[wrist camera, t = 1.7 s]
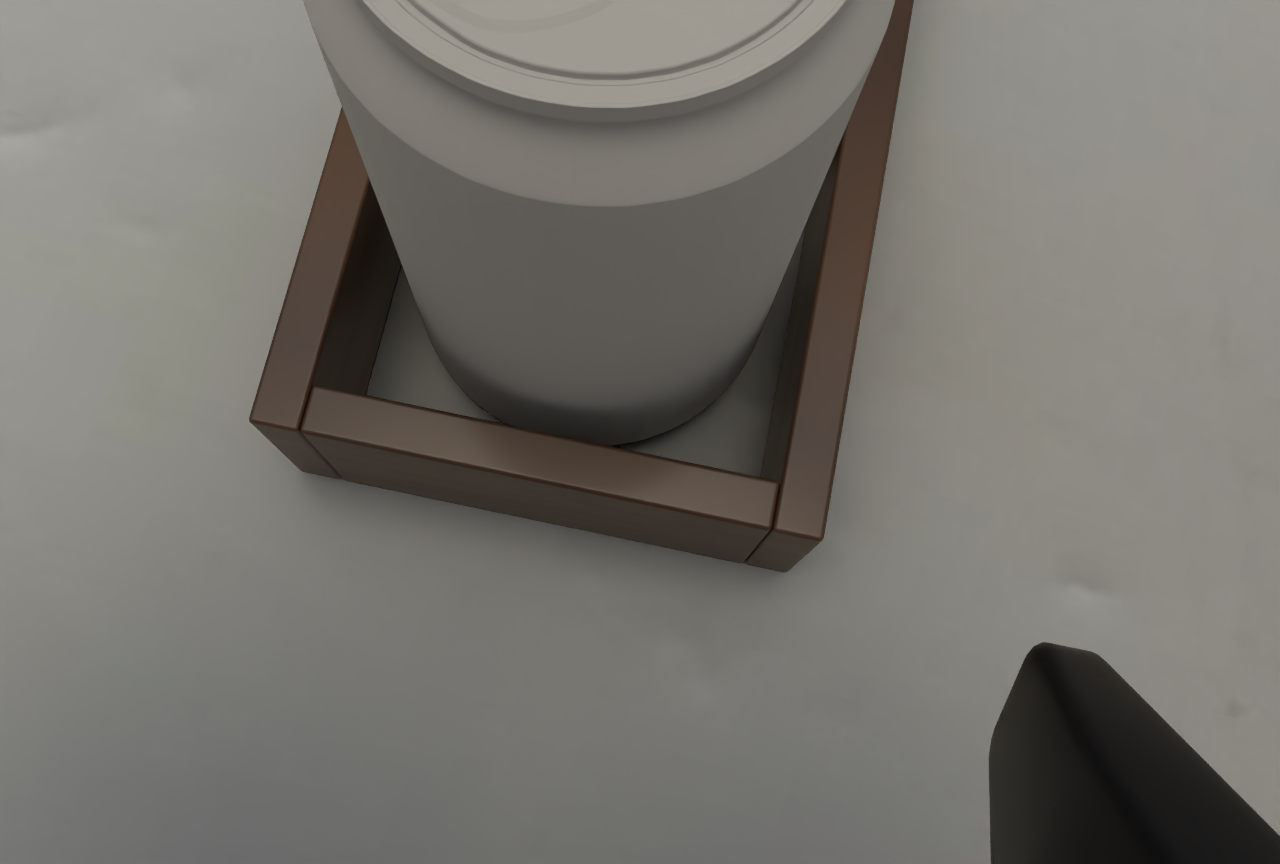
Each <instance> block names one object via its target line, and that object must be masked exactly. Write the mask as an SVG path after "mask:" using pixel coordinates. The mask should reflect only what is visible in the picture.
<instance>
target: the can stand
mask: <svg viewBox="0 0 1280 864" xmlns="http://www.w3.org/2000/svg"><path fill="white" fill-rule="evenodd" d="M913 2H914V0H895V3H894V7H893V10H892V14H891V17H890V21H889V24H888V27H887V30H886V32H885V35H884V37H883V40H882V42H881V45H880V47H879V50H878V52H877V54H876V57H875V59H874V62H873V64H872V66H871V69H870V71H869V74H868V76H867V78H866V81H865V83H864V86H863V88H862V90H861V93H860V95H859V98H858V100H857V102H856V105H855V107H854V109H853V112H852V114H851V117H850V119H849V121H848V124H847V126H846V129H845V131H844V133H843V136H842V138H841V141H840V143H839V145H838V148H837V150H836V153H835V155H834V157H833V160H832V162H831V164H830V167H829V169H828V172H827V174H826V176H825V179H824V181H823V184H822V186H821V188H820V191H819V193H818V196H817V198H816V200H815V203H814V205H813V208H812V210H811V212H810V215H809V217H808V221H807V227H806V232H805V238H804V243H803V248H802V254H801V259H800V265H799V270H798V276H797V281H796V287H795V292H794V298H793V303H792V308H791V314H790V319H789V325H788V330H787V336H786V341H785V347H784V352H783V357H782V363H781V368H780V374H779V379H778V385H777V390H776V396H775V401H774V406H773V412H772V417H771V423H770V428H769V434H768V439H767V445H766V450H765V456H764V461H763V466H762V472H761V477H755V476H751V475H746V474H741V473H736V472H731V471H727V470H722V469H717V468H712V467H707V466H703V465H698V464H693V463H688V462H684V461H679V460H674V459H669V458H664V457H660V456H655V455H650V454H645V453H640V452H636V451H631V450H626V449H621V448H616V447H612V446H607V445H602V444H597V443H592V442H588V441H583V440H578V439H573V438H568V437H564V436H559V435H554V434H549V433H544V432H540V431H535V430H530V429H525V428H520V427H516V426H511V425H506V424H501V423H496V422H492V421H487V420H482V419H477V418H472V417H468V416H463V415H458V414H453V413H448V412H444V411H439V410H434V409H429V408H424V407H420V406H415V405H410V404H405V403H401V402H396V401H391V400H386V399H381V398H377V397H372V396H367V395H365V393H366V389H367V386H368V382H369V378H370V375H371V371H372V368H373V364H374V360H375V357H376V353H377V349H378V346H379V342H380V338H381V335H382V331H383V327H384V324H385V320H386V316H387V313H388V309H389V305H390V302H391V298H392V295H393V291H394V287H395V284H396V280H397V276H398V273H399V269H400V265H401V261H400V258H399V256H398V253H397V250H396V248H395V245H394V242H393V240H392V237H391V235H390V232H389V229H388V227H387V224H386V221H385V219H384V216H383V213H382V211H381V208H380V205H379V203H378V200H377V197H376V195H375V192H374V189H373V187H372V184H371V181H370V179H369V176H368V173H367V171H366V168H365V165H364V163H363V160H362V158H361V155H360V152H359V150H358V147H357V144H356V142H355V139H354V136H353V134H352V131H351V128H350V126H349V123H348V120H347V118H346V115H345V112H344V110H343V107H342V108H341V112H340V115H339V118H338V122H337V125H336V128H335V132H334V135H333V138H332V142H331V145H330V149H329V152H328V155H327V159H326V162H325V165H324V169H323V172H322V175H321V179H320V182H319V185H318V189H317V192H316V195H315V199H314V202H313V206H312V209H311V212H310V216H309V219H308V222H307V226H306V229H305V232H304V236H303V239H302V242H301V246H300V249H299V253H298V256H297V259H296V263H295V266H294V269H293V273H292V276H291V279H290V283H289V286H288V289H287V293H286V296H285V299H284V303H283V306H282V310H281V313H280V316H279V320H278V323H277V326H276V330H275V333H274V336H273V340H272V343H271V346H270V350H269V353H268V356H267V360H266V363H265V367H264V370H263V373H262V377H261V380H260V383H259V387H258V390H257V393H256V397H255V400H254V403H253V407H252V410H251V414H250V417H249V421H250V422H251V423H252V424H253V425H254V426H255V427H256V428H257V429H258V430H259V431H260V432H261V433H262V434H263V435H264V436H265V437H266V438H267V439H268V440H270V441H271V442H272V443H273V444H274V445H275V446H276V447H277V448H278V449H279V450H280V451H281V452H282V453H283V454H284V455H285V456H286V457H287V458H288V459H289V460H290V461H291V462H293V463H294V464H295V465H296V466H297V467H298V468H299V469H300V470H301V471H304V472H309V473H313V474H318V475H323V476H328V477H332V478H337V479H339V478H343V479H345V480H347V481H352V482H357V483H361V484H366V485H371V486H376V487H380V488H385V489H390V490H395V491H399V492H404V493H409V494H414V495H419V496H423V497H428V498H433V499H438V500H442V501H447V502H452V503H457V504H462V505H466V506H471V507H476V508H481V509H485V510H490V511H495V512H500V513H505V514H509V515H514V516H519V517H524V518H528V519H533V520H538V521H543V522H548V523H552V524H557V525H562V526H567V527H571V528H576V529H581V530H586V531H590V532H595V533H600V534H605V535H610V536H614V537H619V538H624V539H629V540H633V541H638V542H643V543H648V544H653V545H657V546H662V547H667V548H672V549H676V550H681V551H686V552H691V553H696V554H700V555H705V556H710V557H715V558H719V559H724V560H729V561H734V562H739V563H743V562H744V561H745V560H746V563H747V564H749V565H753V566H758V567H762V568H767V569H772V570H777V571H781V572H787V571H789V570H790V569H791V568H792V567H793V566H794V565H795V564H796V563H797V562H799V561H800V560H801V559H802V558H803V557H804V556H805V555H806V554H808V553H809V552H810V551H811V550H812V549H813V548H814V547H815V546H817V545H818V544H819V543H820V542H821V541H822V540H823V538H824V533H825V527H826V521H827V515H828V509H829V503H830V497H831V491H832V485H833V479H834V473H835V467H836V461H837V455H838V450H839V444H840V438H841V432H842V426H843V420H844V414H845V408H846V402H847V396H848V390H849V384H850V378H851V372H852V366H853V360H854V354H855V348H856V342H857V336H858V330H859V324H860V318H861V312H862V306H863V300H864V294H865V288H866V283H867V277H868V271H869V265H870V259H871V253H872V247H873V241H874V235H875V229H876V223H877V217H878V211H879V205H880V199H881V193H882V187H883V181H884V175H885V169H886V163H887V157H888V151H889V145H890V139H891V133H892V127H893V121H894V115H895V110H896V104H897V98H898V92H899V86H900V80H901V74H902V68H903V62H904V56H905V50H906V44H907V38H908V32H909V26H910V20H911V14H912V8H913Z"/></svg>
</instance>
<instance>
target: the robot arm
mask: <svg viewBox="0 0 1280 864" xmlns="http://www.w3.org/2000/svg"><path fill="white" fill-rule="evenodd" d="M989 796H990V844H991V864H1280V836H1279V835H1278V834H1277V833H1276V832H1275V831H1274V830H1273V829H1272V828H1271V827H1270V826H1269V825H1268V824H1267V823H1266V822H1265V821H1264V820H1263V819H1262V818H1261V817H1260V816H1259V815H1258V814H1257V813H1256V812H1255V811H1254V810H1253V809H1252V808H1251V807H1250V806H1249V805H1248V804H1247V803H1246V802H1245V801H1244V800H1243V799H1242V798H1241V797H1240V796H1239V795H1238V794H1237V793H1236V792H1235V791H1234V790H1233V789H1232V788H1231V787H1230V786H1229V785H1228V784H1227V783H1226V782H1225V781H1224V779H1223V778H1222V777H1221V776H1220V775H1219V774H1218V773H1217V772H1216V771H1215V770H1214V769H1213V768H1212V767H1211V766H1210V765H1209V764H1208V763H1207V762H1206V761H1205V760H1204V759H1203V758H1202V757H1201V756H1200V755H1199V754H1198V753H1197V752H1196V751H1195V750H1194V749H1193V748H1192V747H1191V746H1190V745H1189V744H1188V743H1187V742H1186V741H1185V740H1184V739H1183V738H1182V737H1181V736H1180V735H1179V734H1178V733H1177V732H1176V731H1175V730H1174V729H1173V728H1172V727H1171V726H1170V725H1169V724H1168V723H1167V722H1166V721H1165V720H1164V719H1163V718H1162V717H1161V716H1160V715H1159V714H1158V713H1157V712H1156V711H1155V710H1154V709H1153V708H1152V707H1151V706H1150V705H1149V704H1148V703H1147V702H1146V701H1145V700H1144V699H1143V698H1142V697H1141V696H1140V695H1139V694H1138V693H1137V692H1136V691H1135V690H1134V689H1133V688H1132V687H1131V686H1130V685H1129V684H1128V683H1127V682H1126V681H1125V680H1124V679H1123V678H1122V677H1121V676H1120V675H1119V674H1118V673H1117V672H1116V671H1115V670H1114V669H1113V668H1112V667H1111V666H1110V665H1109V664H1108V663H1107V662H1106V661H1105V660H1104V659H1102V658H1101V657H1100V656H1099V655H1097V654H1095V653H1093V652H1090V651H1086V650H1081V649H1076V648H1071V647H1066V646H1061V645H1057V644H1052V643H1047V642H1043V643H1040V644H1038V645H1036V646H1034V647H1033V648H1032V649H1031V650H1030V652H1029V653H1028V654H1027V656H1026V658H1025V660H1024V662H1023V664H1022V666H1021V669H1020V671H1019V673H1018V675H1017V678H1016V680H1015V682H1014V685H1013V687H1012V689H1011V691H1010V694H1009V696H1008V698H1007V701H1006V703H1005V705H1004V708H1003V710H1002V712H1001V714H1000V717H999V719H998V721H997V724H996V726H995V729H994V732H993V736H992V739H991V745H990V752H989Z"/></svg>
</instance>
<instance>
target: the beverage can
mask: <svg viewBox="0 0 1280 864" xmlns="http://www.w3.org/2000/svg"><path fill="white" fill-rule="evenodd" d="M894 3H895V0H304V4H305V7H306V10H307V13H308V16H309V19H310V22H311V25H312V27H313V30H314V33H315V35H316V38H317V41H318V43H319V46H320V49H321V51H322V54H323V57H324V59H325V62H326V65H327V67H328V70H329V73H330V75H331V78H332V81H333V83H334V86H335V88H336V91H337V94H338V96H339V99H340V102H341V104H342V107H343V110H344V112H345V115H346V118H347V120H348V123H349V126H350V128H351V131H352V134H353V136H354V139H355V142H356V144H357V147H358V150H359V152H360V155H361V158H362V160H363V163H364V165H365V168H366V171H367V173H368V176H369V179H370V181H371V184H372V187H373V189H374V192H375V195H376V197H377V200H378V203H379V205H380V208H381V211H382V213H383V216H384V219H385V221H386V224H387V227H388V229H389V232H390V235H391V237H392V240H393V242H394V245H395V248H396V250H397V253H398V256H399V258H400V261H401V264H402V266H403V269H404V272H405V274H406V277H407V280H408V282H409V285H410V288H411V290H412V293H413V296H414V298H415V301H416V304H417V306H418V309H419V312H420V314H421V317H422V319H423V322H424V325H425V327H426V330H427V333H428V335H429V338H430V340H431V343H432V345H433V347H434V349H435V351H436V353H437V355H438V356H439V358H440V360H441V362H442V363H443V365H444V367H445V368H446V370H447V371H448V372H449V374H450V375H451V377H452V378H453V379H454V380H455V381H456V383H457V384H458V385H459V386H460V387H461V388H462V390H463V391H464V392H465V393H466V394H467V395H468V396H469V397H470V398H471V399H473V400H474V401H475V402H476V403H477V404H479V405H480V406H481V407H482V408H483V409H485V410H486V411H487V412H489V413H490V414H492V415H493V416H495V417H496V418H498V419H500V420H501V421H503V422H505V423H507V424H508V425H511V426H516V427H520V428H525V429H530V430H535V431H540V432H544V433H549V434H554V435H559V436H564V437H568V438H573V439H578V440H583V441H588V442H592V443H597V444H602V445H607V446H611V445H619V444H625V443H631V442H636V441H641V440H644V439H647V438H650V437H653V436H656V435H659V434H661V433H664V432H667V431H669V430H671V429H673V428H675V427H677V426H679V425H681V424H682V423H684V422H686V421H687V420H689V419H691V418H692V417H694V416H695V415H697V414H698V413H700V412H701V411H702V410H704V409H705V408H706V407H708V406H709V405H710V404H711V403H712V402H713V401H714V400H716V399H717V398H718V397H719V396H720V395H721V394H722V393H723V392H724V391H725V390H726V389H727V387H728V386H729V385H730V384H731V383H732V382H733V380H734V379H735V378H736V376H737V375H738V374H739V373H740V371H741V369H742V368H743V366H744V365H745V363H746V362H747V360H748V358H749V356H750V354H751V352H752V350H753V348H754V346H755V344H756V341H757V339H758V337H759V334H760V332H761V329H762V327H763V325H764V322H765V320H766V318H767V315H768V313H769V310H770V308H771V306H772V303H773V301H774V298H775V296H776V294H777V291H778V289H779V286H780V284H781V282H782V279H783V277H784V274H785V272H786V270H787V267H788V265H789V263H790V260H791V258H792V255H793V253H794V251H795V248H796V246H797V243H798V241H799V239H800V236H801V234H802V231H803V229H804V227H805V224H806V222H807V219H808V217H809V215H810V212H811V210H812V208H813V205H814V203H815V200H816V198H817V196H818V193H819V191H820V188H821V186H822V184H823V181H824V179H825V176H826V174H827V172H828V169H829V167H830V164H831V162H832V160H833V157H834V155H835V153H836V150H837V148H838V145H839V143H840V141H841V138H842V136H843V133H844V131H845V129H846V126H847V124H848V121H849V119H850V117H851V114H852V112H853V109H854V107H855V105H856V102H857V100H858V98H859V95H860V93H861V90H862V88H863V86H864V83H865V81H866V78H867V76H868V74H869V71H870V69H871V66H872V64H873V62H874V59H875V57H876V54H877V52H878V50H879V47H880V45H881V42H882V40H883V37H884V35H885V32H886V30H887V27H888V24H889V21H890V17H891V14H892V10H893V7H894Z"/></svg>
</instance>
